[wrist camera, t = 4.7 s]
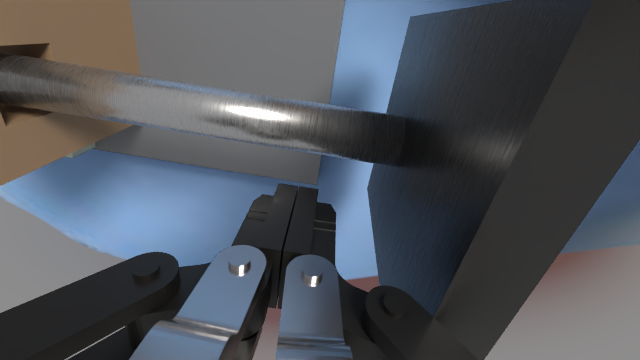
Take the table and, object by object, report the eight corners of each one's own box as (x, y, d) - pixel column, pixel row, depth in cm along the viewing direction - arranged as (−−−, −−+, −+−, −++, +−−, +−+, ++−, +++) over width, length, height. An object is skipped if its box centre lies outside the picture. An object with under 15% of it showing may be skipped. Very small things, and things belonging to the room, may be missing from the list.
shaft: (443, 21, 13) (733, 6, 3) (392, 192, 17) (450, 406, 8) (27, -44, 13) (-885, -244, 3) (79, 142, 17) (-260, 288, 8)
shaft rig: (350, -33, 16) (355, -121, 6) (318, 178, 22) (296, 293, 12) (-149, -110, 16) (-871, -309, 6) (-40, 120, 22) (-327, 190, 13)
